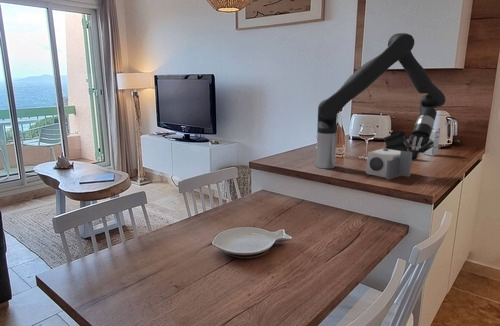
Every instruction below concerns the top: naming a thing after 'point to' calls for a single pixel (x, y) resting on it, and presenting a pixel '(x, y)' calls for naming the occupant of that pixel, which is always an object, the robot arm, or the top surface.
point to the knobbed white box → (380, 161)
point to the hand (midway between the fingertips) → (412, 158)
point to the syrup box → (435, 138)
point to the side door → (399, 165)
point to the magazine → (396, 141)
